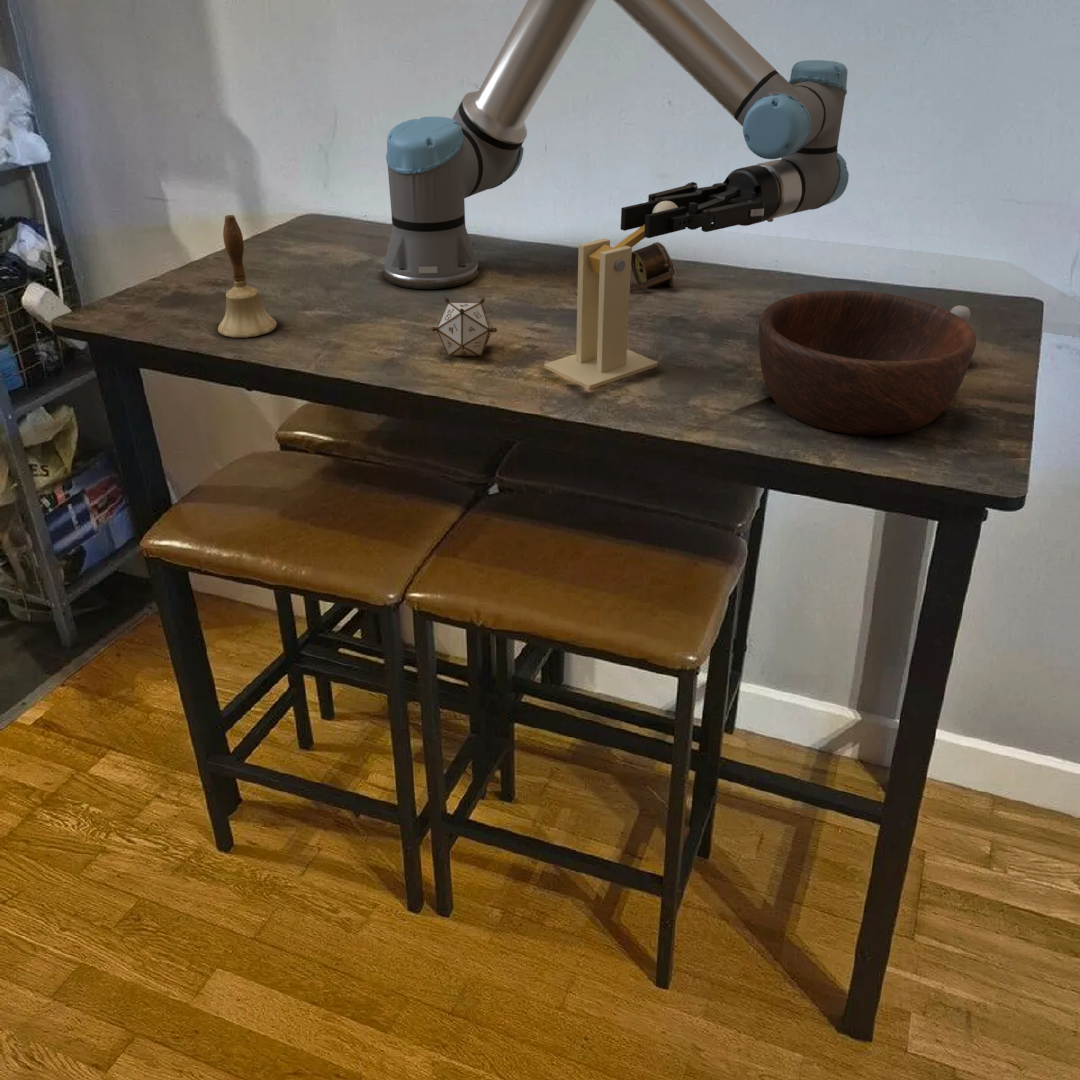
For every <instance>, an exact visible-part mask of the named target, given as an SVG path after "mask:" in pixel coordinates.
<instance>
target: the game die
mask: <svg viewBox="0 0 1080 1080" xmlns="http://www.w3.org/2000/svg"><path fill="white" fill-rule="evenodd" d="M444 301H445V303H446V306H445V308H444V311H443V313H442V315H441V317H440V319H439V322H438V323H437V326H433V327H431V328H430V330H431V331H432V332H437V335H438V337H439V339H440V341H441V343H442V346H443V348H444V350H445V352H446V355H447V356H449V357H451V356H455V357H456V356H457V357H458V356H460V357H461V356H462V357H465V356H466V357H481V356H483V354H484V351H485V349H486V347H487V344H488V342H489V339H490V338H491V335H492V333H496V332H498V329H497V328H496V327H492V325H491V322H490V320H489V318H488V315H487V312H486V310H485V307H484V305H483V304H484V303H485V301H486V299H485V297H482V298H481V299H480V300H479V302H473V301H472V302H470V301H469V302H465V301H464V302H463V301H459V302H458V301H450V298H449V297H446V296H444Z"/></svg>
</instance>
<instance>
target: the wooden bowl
mask: <svg viewBox="0 0 1080 1080" xmlns="http://www.w3.org/2000/svg"><path fill="white" fill-rule="evenodd" d="M758 345H759V346H758V347H759V349H758V350H759V362H760V369H761V373H762V377H763V381H764V383H765V387H766V389H767V391H768V393H769V395H770V396H771V399H772V400H773V402H774V403H775V404H776V405H777V407H779V408H780V409H781V411H782V412H785V414H787V415H789V416H790V417H792V418H793V419H795V420H797V421H799V422H802V423H804V424H807V425H809V426H813V427H815V428H819V429H823V430H826V431H829V432H834V433H835V432H836V433H840V434H847V435H855V436H875V437H876V436H877V437H878V436H893V435H899V434H904V433H905V434H906V433H909V432H913V431H916V430H918V429H921V428H923V427H925V426H926V425H929V424H930V423H932V422H933V421H934V420H935V419H937V417H939V416H940V415H941V414H942V413H943V412H944V410H945V409H946V408H947V407H948V406H949V405H950V403H951V402H952V400H953V399H954V397H955V396H956V394H957V393H958V391H959V389H960V387H961V385H962V383H963V381H964V378H965V377H966V373H967V371H968V368H969V367H970V363H971V361H972V358H973V356H974V353H975V351H976V346H977V335H976V332H975V331H974V329H973V328H972V326H971V325H970V324H969V323H967V321H966V322H965V321H964V320H963V319H961V318H960V317H958V316H957V315H955V314H953V313H951V312H950V311H949V310H947V309H944V308H943V307H940V306H937V305H935V304H931V303H929V302H926V301H922V300H918V299H915V298H910V297H906V296H901V295H896V294H890V293H884V292H876V291H875V292H874V291H867V290H866V291H865V290H864V291H863V290H844V289H843V290H841V289H840V290H820V291H819V290H818V291H810V292H803V293H799V294H794V295H791V296H790V295H789V296H786V297H784V298H782V299H779V300H777V301H775V302H773V303H771V304H770V305H768V306H767V307H766V308H764V310H763V311H762V313H761V315H760V318H759V321H758Z"/></svg>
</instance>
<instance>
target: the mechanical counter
mask: <svg viewBox="0 0 1080 1080" xmlns="http://www.w3.org/2000/svg"><path fill="white" fill-rule="evenodd" d="M631 270H632V272H633V273H632V274H633V275H634V280H636V283H637V284H631V285H630V292H637V291H641V290H644V289H652V288H656V287H660V286H662V285H664V284H666V285H667V286H669V287H673V288H674V286H675V284H674V274H675V270H674V265H673V262H672V259H671V257H670V254H669V253H668V250H667V248H666V247H665V246H664V245H663V244H662V243H661V242H659V241H656V242H654V243H652V244H649V245H646V246H644V247H641V248H638V249H636V250H632V256H631Z"/></svg>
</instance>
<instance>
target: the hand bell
mask: <svg viewBox="0 0 1080 1080" xmlns="http://www.w3.org/2000/svg"><path fill="white" fill-rule="evenodd" d="M222 237H223V238H222V239H223V244H224V247H225V250H226V253H227V255H228V258H229V260H230V264H231V270H232V271H231V272H232V278H233V287H232V288H231V289H229V290H227V292H226V294H225V300H226V301H225V302H226V303H225V313H224V316H223V319H222V321H221V322H219V324H218V327H217V331H218V333H219V334H220V335H221V336H225V337H229V338H233V339H245V338H247V339H248V338H256V337H259V336H263V335H265V334H269V333H271V332H273V331H274V330H275V329H276V328H277V325H278V323H277V321H276V319H274V318H273V316H271V315H270V314H269V313H268V312H267V311H266V310H265V308H264V305H263V304H262V300H261V298H260V295H259V291H258V290H257V289H256V288H255V287H253V286H249V285H248V283H247V280H246V279H247V277H246V275H245V273H246V272H245V269H244V267H245V266H244V264H243V263H244V261H243V258H244V250H245V249H244V248H245V247H244V237H243V233H242V230H241V227H240V225H239V223H238V221H237V219H236V216H235V215H234V214H227V215H225V216H224V223H223V230H222Z"/></svg>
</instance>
